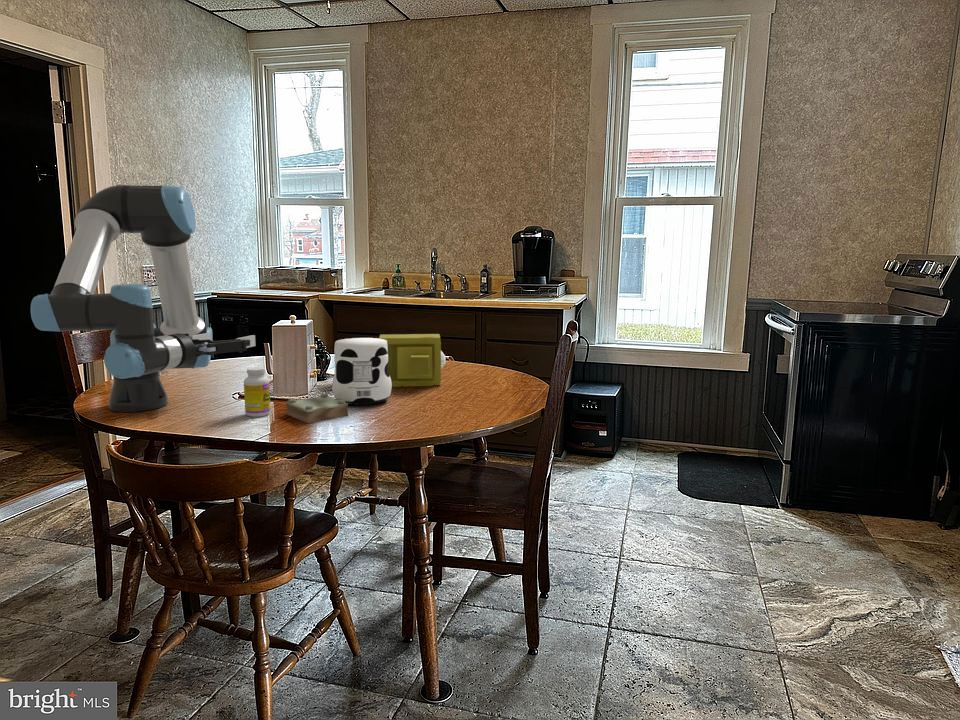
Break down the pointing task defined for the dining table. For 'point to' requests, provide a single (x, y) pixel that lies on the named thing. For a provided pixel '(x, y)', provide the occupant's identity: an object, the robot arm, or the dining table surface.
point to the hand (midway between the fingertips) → (231, 339)
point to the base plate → (317, 408)
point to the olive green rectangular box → (414, 359)
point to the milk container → (361, 371)
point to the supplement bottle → (257, 393)
